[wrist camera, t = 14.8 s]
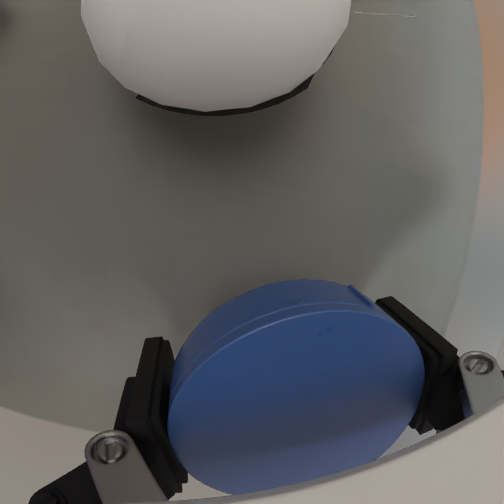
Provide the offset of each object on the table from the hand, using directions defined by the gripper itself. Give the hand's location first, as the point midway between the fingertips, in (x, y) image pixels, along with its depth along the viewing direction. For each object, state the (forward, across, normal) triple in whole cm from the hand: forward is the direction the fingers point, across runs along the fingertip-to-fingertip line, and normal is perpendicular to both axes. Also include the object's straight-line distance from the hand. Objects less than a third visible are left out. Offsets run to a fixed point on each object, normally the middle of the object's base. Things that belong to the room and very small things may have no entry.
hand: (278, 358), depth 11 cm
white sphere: (+3, 0, -11) cm, 12 cm away
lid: (-3, 0, 0) cm, 3 cm away
